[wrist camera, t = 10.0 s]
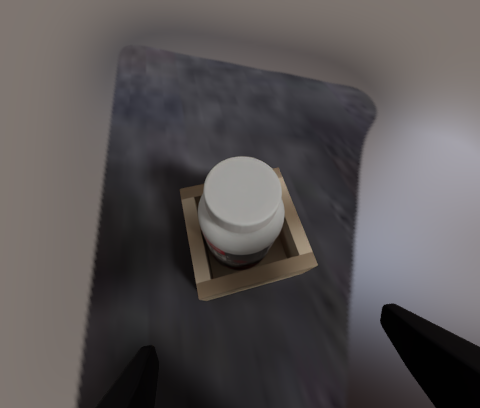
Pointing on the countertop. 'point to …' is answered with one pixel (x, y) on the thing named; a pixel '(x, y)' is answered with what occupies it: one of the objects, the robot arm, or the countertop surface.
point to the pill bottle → (241, 211)
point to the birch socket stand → (268, 270)
